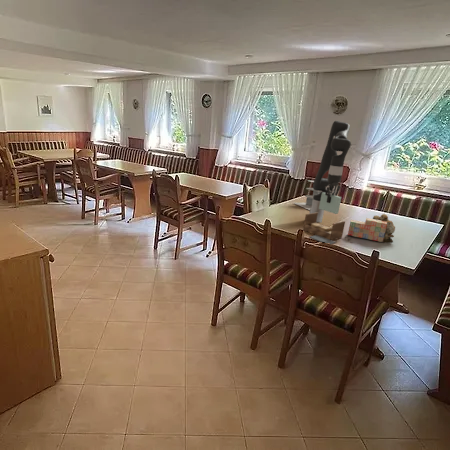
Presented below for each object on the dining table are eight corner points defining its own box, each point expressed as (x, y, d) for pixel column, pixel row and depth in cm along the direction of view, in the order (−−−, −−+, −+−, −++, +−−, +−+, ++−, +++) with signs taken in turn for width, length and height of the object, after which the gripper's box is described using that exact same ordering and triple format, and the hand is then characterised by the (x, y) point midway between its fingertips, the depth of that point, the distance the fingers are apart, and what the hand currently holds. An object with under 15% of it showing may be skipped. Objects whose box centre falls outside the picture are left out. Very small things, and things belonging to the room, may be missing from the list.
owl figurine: (361, 236, 219) (367, 212, 214) (367, 233, 227) (373, 209, 222) (390, 245, 208) (396, 219, 203) (395, 241, 216) (402, 216, 211)
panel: (318, 208, 203) (321, 192, 200) (321, 208, 204) (324, 192, 201) (335, 214, 194) (339, 197, 191) (338, 213, 196) (341, 197, 193)
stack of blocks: (347, 235, 216) (351, 217, 212) (348, 232, 222) (351, 215, 218) (382, 242, 209) (387, 223, 205) (382, 239, 214) (386, 221, 210)
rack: (303, 229, 222) (305, 214, 219) (313, 227, 229) (316, 212, 226) (331, 240, 206) (334, 223, 203) (341, 237, 213) (345, 221, 210)
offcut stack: (308, 229, 221) (309, 223, 219) (313, 228, 224) (314, 222, 222) (329, 237, 209) (330, 230, 208) (333, 235, 212) (334, 229, 211)
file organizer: (342, 209, 291) (347, 185, 284) (310, 210, 277) (314, 185, 270) (323, 202, 313) (327, 179, 307) (292, 202, 299) (296, 178, 293)
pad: (309, 237, 208) (309, 236, 208) (316, 235, 213) (317, 234, 213) (328, 244, 198) (328, 244, 197) (335, 242, 203) (335, 241, 202)
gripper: (336, 172, 200) (331, 200, 205) (322, 172, 191) (317, 201, 196) (347, 174, 194) (341, 203, 199) (334, 175, 186) (328, 205, 191)
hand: (329, 202), depth 198 cm, fingers closed on panel, 2 cm apart
